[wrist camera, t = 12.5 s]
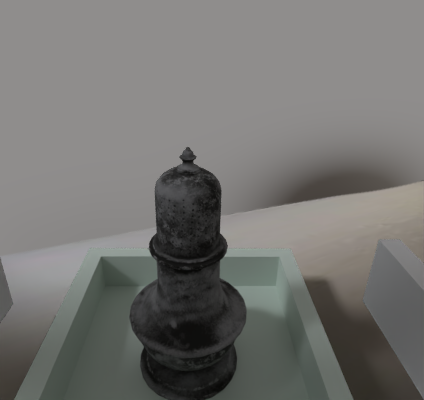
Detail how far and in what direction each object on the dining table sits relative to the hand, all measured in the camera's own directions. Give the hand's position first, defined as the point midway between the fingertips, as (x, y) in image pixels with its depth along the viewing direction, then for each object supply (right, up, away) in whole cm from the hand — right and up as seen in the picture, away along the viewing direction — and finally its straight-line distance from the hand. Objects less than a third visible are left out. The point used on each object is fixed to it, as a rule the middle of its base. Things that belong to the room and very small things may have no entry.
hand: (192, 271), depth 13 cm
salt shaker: (-1, -6, +7) cm, 10 cm away
